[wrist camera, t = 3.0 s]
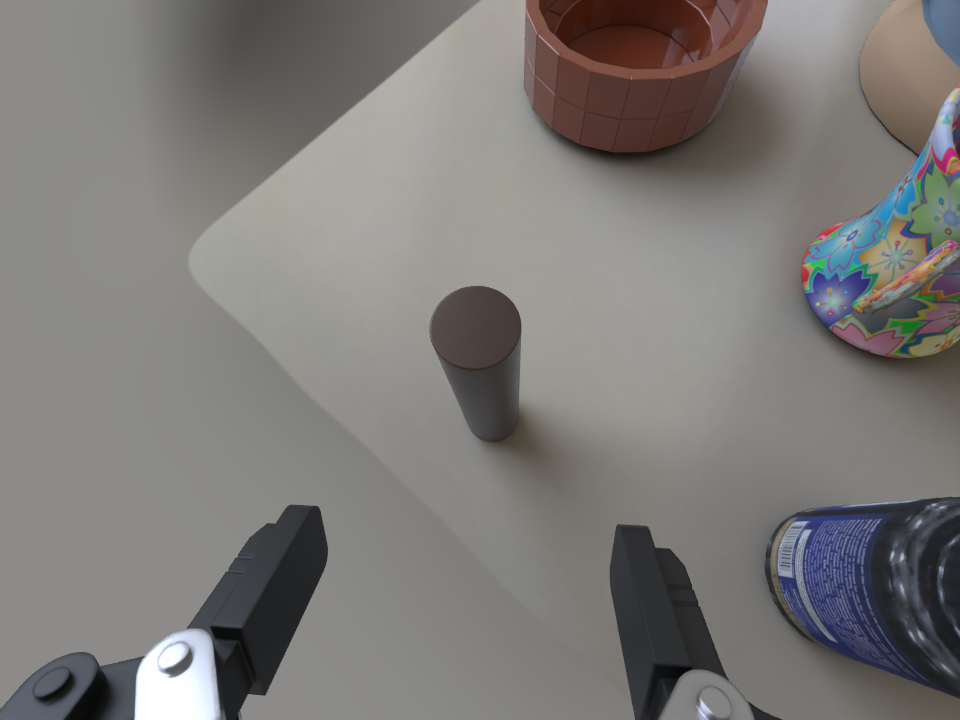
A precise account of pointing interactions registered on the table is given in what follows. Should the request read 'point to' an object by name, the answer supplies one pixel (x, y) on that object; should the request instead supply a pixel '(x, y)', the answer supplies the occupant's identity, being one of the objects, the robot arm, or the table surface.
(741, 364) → the table surface
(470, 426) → the stick
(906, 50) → the alarm clock
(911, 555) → the pill bottle
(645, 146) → the bowl
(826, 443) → the table surface
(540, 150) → the table surface
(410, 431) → the table surface
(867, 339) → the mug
